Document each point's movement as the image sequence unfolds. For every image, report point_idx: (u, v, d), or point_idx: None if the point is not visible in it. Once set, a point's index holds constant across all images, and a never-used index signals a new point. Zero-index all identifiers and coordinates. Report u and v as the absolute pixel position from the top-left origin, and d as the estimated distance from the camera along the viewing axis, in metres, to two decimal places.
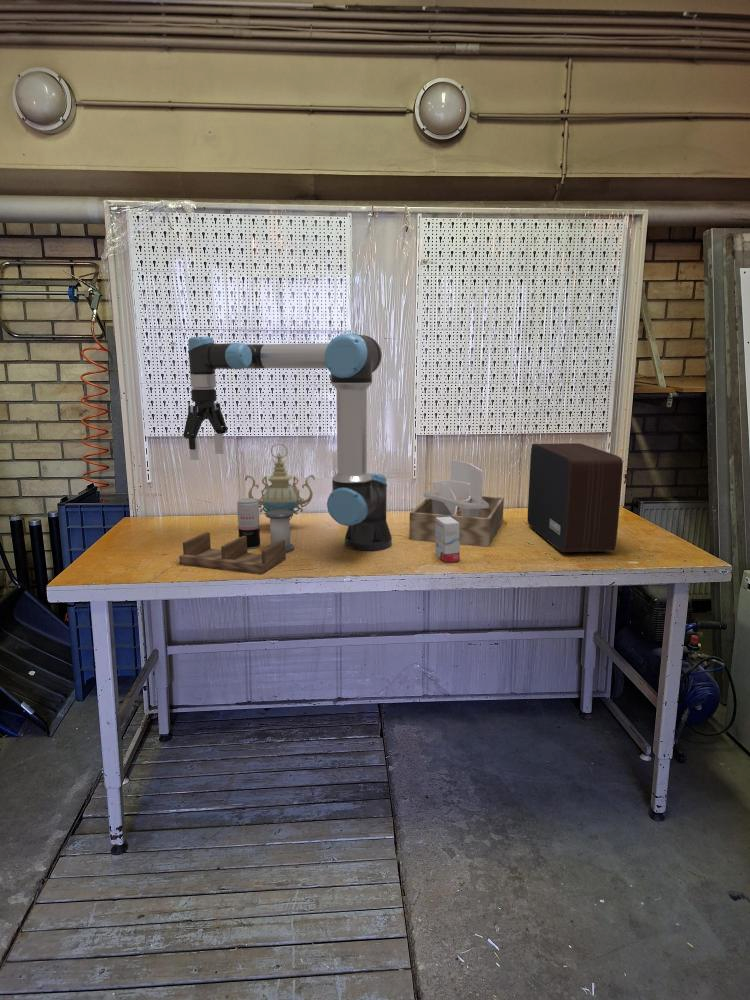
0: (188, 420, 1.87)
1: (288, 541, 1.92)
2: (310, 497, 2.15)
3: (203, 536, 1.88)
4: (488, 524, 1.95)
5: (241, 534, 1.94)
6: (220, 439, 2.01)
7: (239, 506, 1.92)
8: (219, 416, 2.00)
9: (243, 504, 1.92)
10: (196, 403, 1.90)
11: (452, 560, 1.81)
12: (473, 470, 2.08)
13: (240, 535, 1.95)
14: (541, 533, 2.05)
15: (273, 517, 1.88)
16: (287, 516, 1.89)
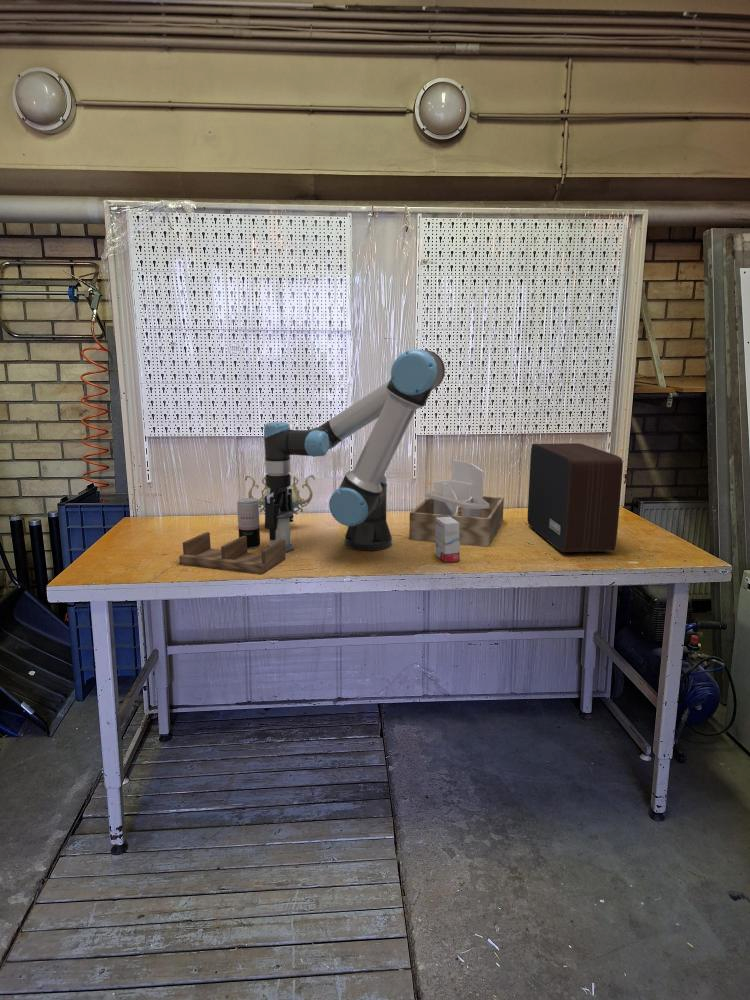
0: (267, 512, 1.85)
1: (288, 541, 1.92)
2: (310, 497, 2.15)
3: (203, 536, 1.88)
4: (488, 524, 1.95)
5: (241, 534, 1.94)
6: None
7: (239, 506, 1.92)
8: (289, 502, 1.96)
9: (243, 504, 1.92)
10: (271, 489, 1.87)
11: (452, 560, 1.81)
12: (474, 470, 2.08)
13: (240, 535, 1.95)
14: (541, 533, 2.05)
15: None
16: (287, 516, 1.89)
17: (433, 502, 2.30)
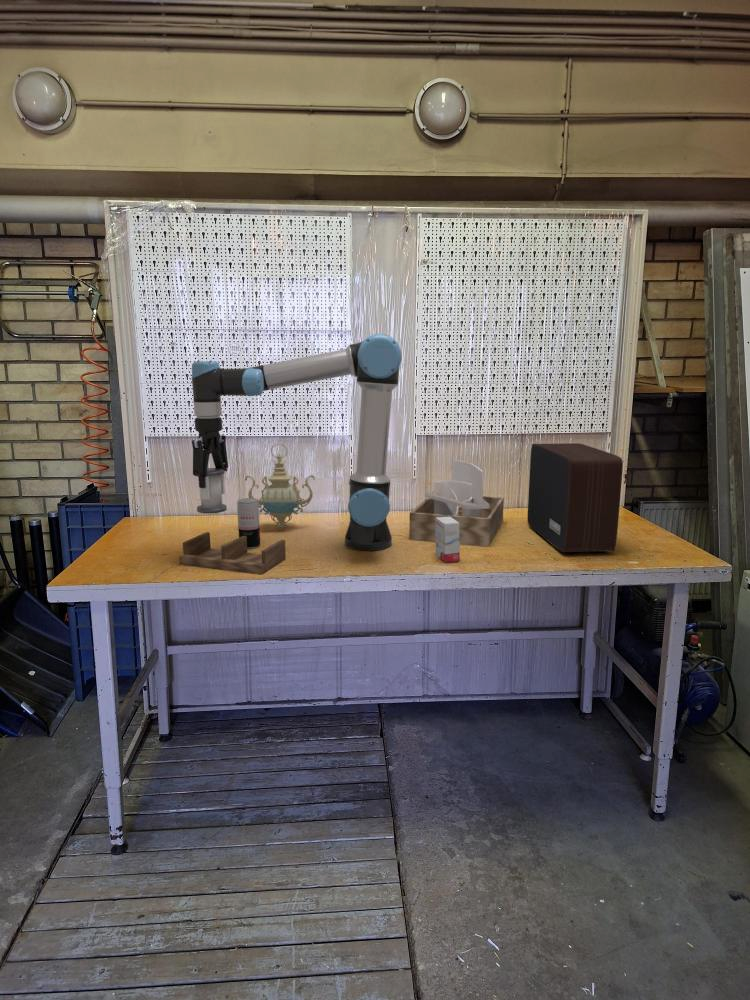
0: (195, 457, 1.72)
1: (219, 501, 1.80)
2: (310, 497, 2.15)
3: (203, 536, 1.88)
4: (488, 524, 1.95)
5: (241, 534, 1.94)
6: (221, 478, 1.83)
7: (239, 506, 1.92)
8: (222, 450, 1.83)
9: (243, 504, 1.92)
10: (200, 433, 1.74)
11: (452, 560, 1.81)
12: (474, 470, 2.08)
13: (240, 535, 1.95)
14: (541, 533, 2.05)
15: None
16: (216, 473, 1.77)
17: (433, 502, 2.30)
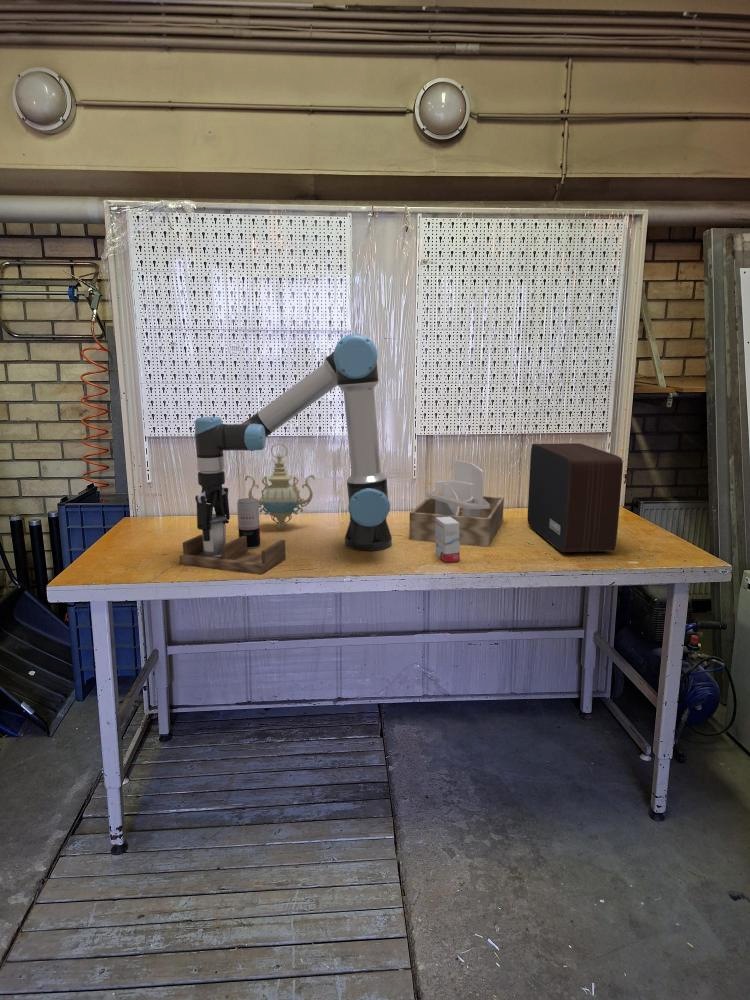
0: (199, 512, 1.76)
1: None
2: (310, 497, 2.15)
3: None
4: (488, 524, 1.95)
5: (241, 534, 1.94)
6: None
7: (239, 506, 1.92)
8: (225, 502, 1.86)
9: (243, 504, 1.92)
10: (203, 488, 1.77)
11: (452, 560, 1.81)
12: (475, 470, 2.08)
13: (240, 535, 1.95)
14: (541, 533, 2.05)
15: None
16: (219, 521, 1.80)
17: (433, 502, 2.30)
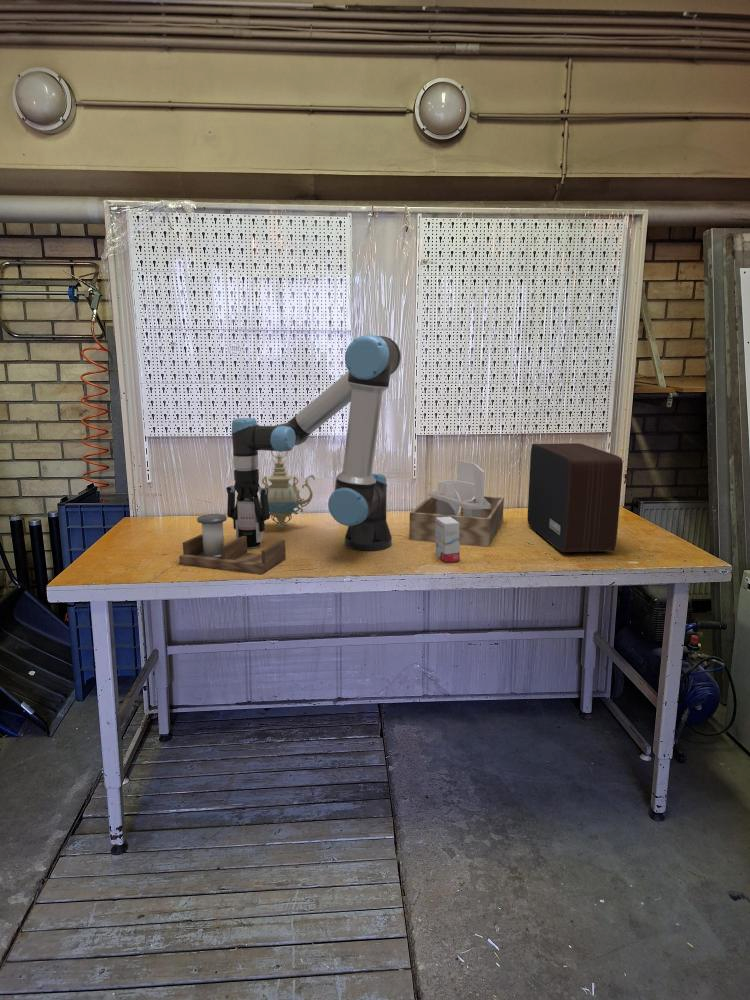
0: None
1: None
2: (310, 497, 2.15)
3: None
4: (488, 524, 1.95)
5: (241, 534, 1.94)
6: None
7: (239, 506, 1.92)
8: None
9: (243, 504, 1.92)
10: None
11: (452, 560, 1.81)
12: (477, 470, 2.07)
13: (240, 535, 1.95)
14: (541, 533, 2.05)
15: (204, 522, 1.79)
16: (219, 521, 1.80)
17: (433, 502, 2.30)
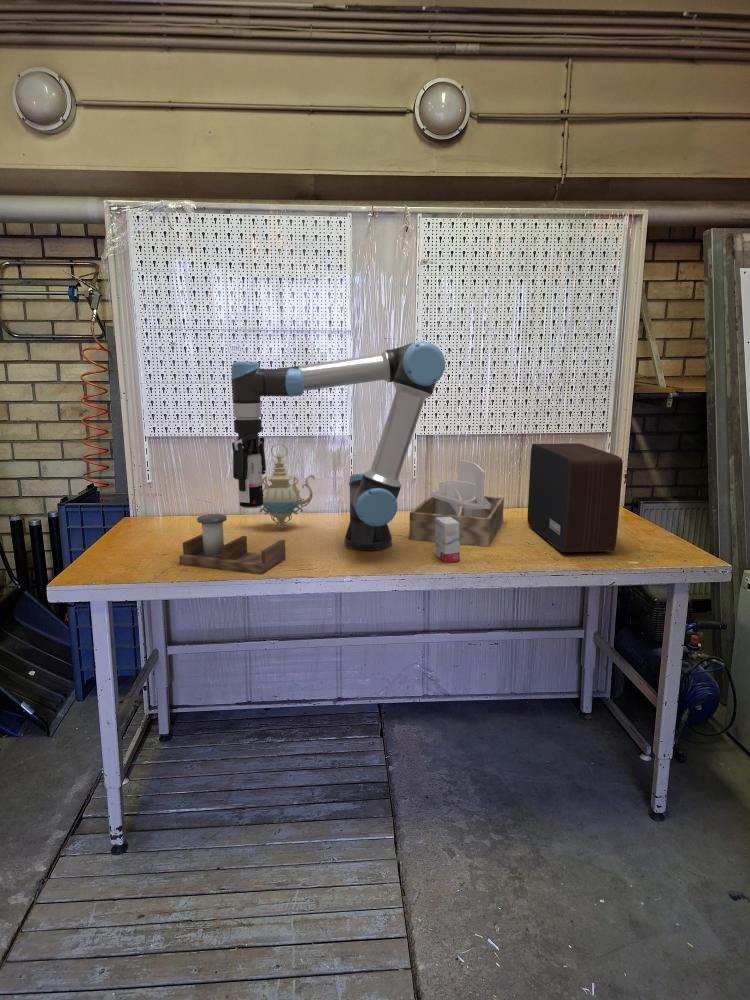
0: (235, 459, 1.69)
1: None
2: (310, 497, 2.15)
3: None
4: (488, 524, 1.95)
5: (259, 491, 1.75)
6: None
7: (256, 460, 1.73)
8: (261, 452, 1.79)
9: (259, 456, 1.74)
10: (240, 435, 1.70)
11: (452, 560, 1.81)
12: (477, 470, 2.07)
13: (257, 493, 1.75)
14: (541, 533, 2.05)
15: (204, 522, 1.79)
16: (219, 521, 1.80)
17: (433, 502, 2.30)
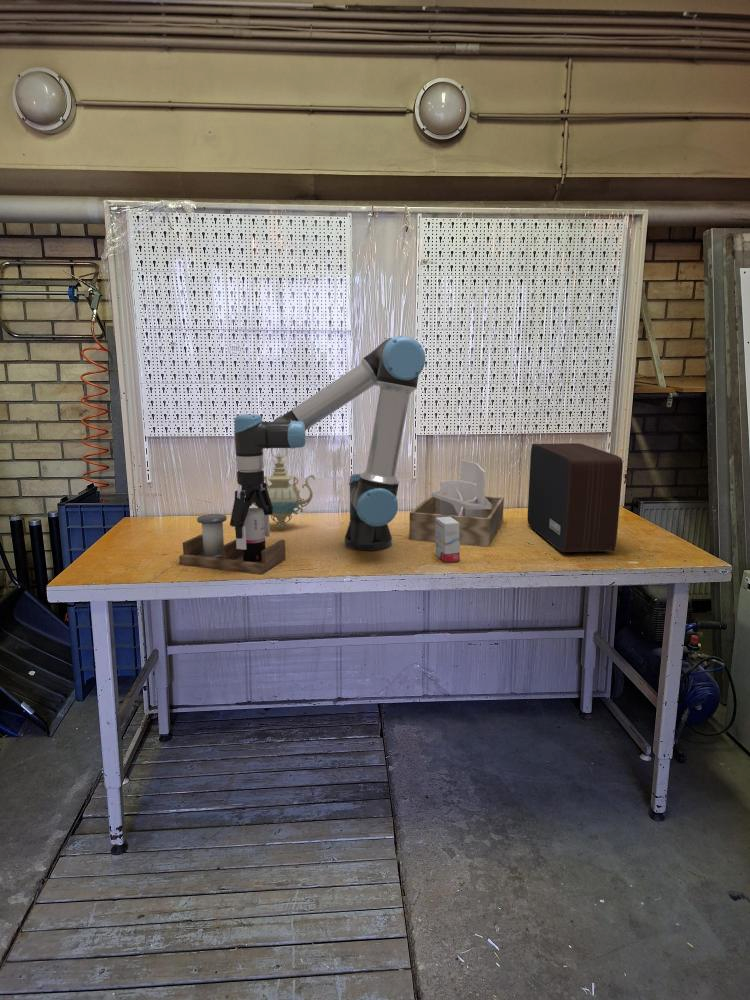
0: (235, 507, 1.70)
1: None
2: (310, 497, 2.15)
3: None
4: (488, 524, 1.95)
5: (262, 546, 1.78)
6: (266, 521, 1.84)
7: (259, 517, 1.76)
8: (265, 496, 1.83)
9: (262, 513, 1.77)
10: (243, 487, 1.73)
11: (452, 560, 1.81)
12: (478, 471, 2.07)
13: (260, 548, 1.78)
14: (541, 533, 2.05)
15: (204, 522, 1.79)
16: (219, 521, 1.80)
17: (433, 502, 2.30)
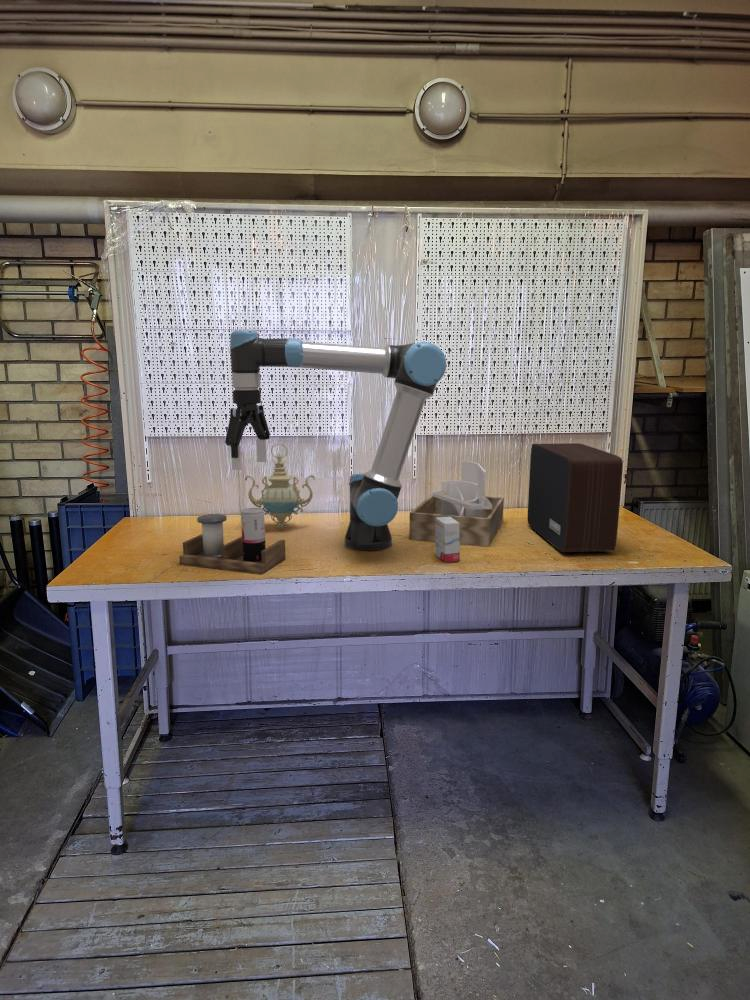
0: (230, 425, 1.65)
1: None
2: (310, 497, 2.15)
3: None
4: (488, 524, 1.95)
5: (262, 546, 1.78)
6: (263, 446, 1.79)
7: (259, 517, 1.76)
8: (262, 420, 1.78)
9: (262, 513, 1.77)
10: (239, 405, 1.68)
11: (452, 560, 1.81)
12: (479, 471, 2.07)
13: (260, 548, 1.78)
14: (541, 533, 2.05)
15: (204, 522, 1.79)
16: (219, 521, 1.80)
17: (433, 502, 2.30)
